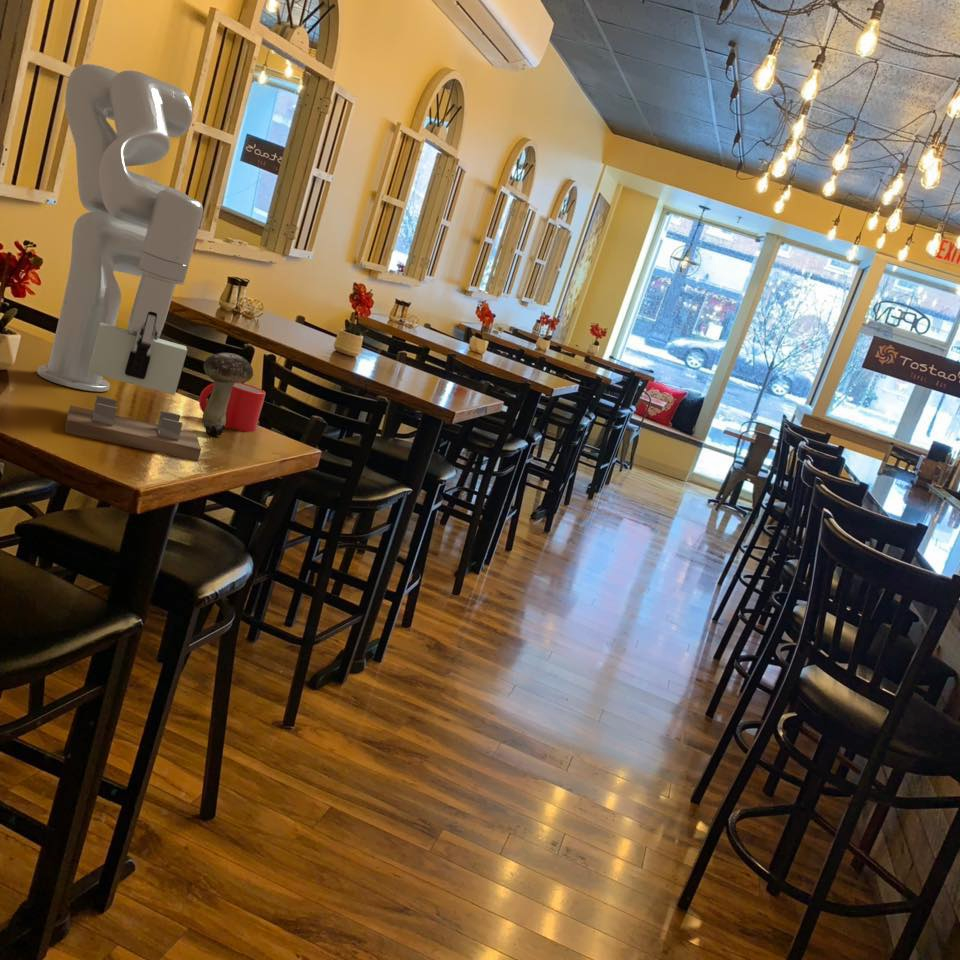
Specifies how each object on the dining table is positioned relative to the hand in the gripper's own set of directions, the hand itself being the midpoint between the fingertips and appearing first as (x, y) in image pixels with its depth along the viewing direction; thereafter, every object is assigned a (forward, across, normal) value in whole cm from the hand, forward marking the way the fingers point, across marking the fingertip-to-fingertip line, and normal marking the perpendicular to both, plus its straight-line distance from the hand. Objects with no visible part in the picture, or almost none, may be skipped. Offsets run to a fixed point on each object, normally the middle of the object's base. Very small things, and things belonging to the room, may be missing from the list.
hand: (134, 372), depth 157 cm
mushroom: (+9, -5, +16) cm, 18 cm away
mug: (+9, -17, +20) cm, 27 cm away
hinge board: (+8, +11, +2) cm, 14 cm away
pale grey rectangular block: (+2, 0, 0) cm, 2 cm away
